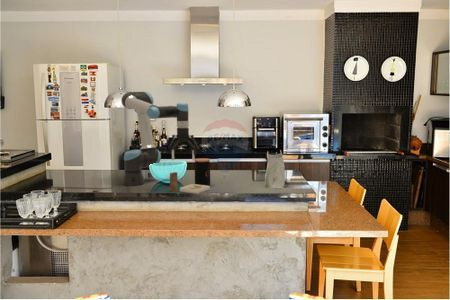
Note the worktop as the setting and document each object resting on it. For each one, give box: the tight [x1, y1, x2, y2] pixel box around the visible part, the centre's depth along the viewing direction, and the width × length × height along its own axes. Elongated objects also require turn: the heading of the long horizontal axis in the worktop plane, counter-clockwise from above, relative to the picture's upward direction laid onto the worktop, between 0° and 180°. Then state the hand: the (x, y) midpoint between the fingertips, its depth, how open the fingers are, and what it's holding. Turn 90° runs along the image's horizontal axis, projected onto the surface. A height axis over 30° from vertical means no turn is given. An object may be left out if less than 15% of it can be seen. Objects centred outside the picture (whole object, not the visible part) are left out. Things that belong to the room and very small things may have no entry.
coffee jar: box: [194, 157, 211, 186], centre depth 301 cm, size 11×11×18 cm
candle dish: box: [179, 183, 211, 195], centre depth 286 cm, size 14×14×3 cm
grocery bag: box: [264, 149, 286, 189], centre depth 307 cm, size 32×14×23 cm, turn 174°
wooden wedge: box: [169, 172, 179, 193], centre depth 284 cm, size 3×5×12 cm, turn 148°
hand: (183, 160), depth 286 cm, fingers open, 13 cm apart
